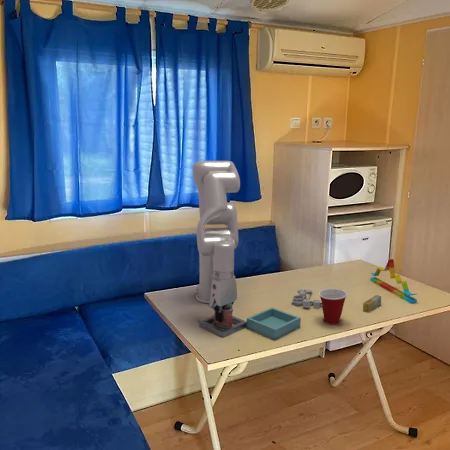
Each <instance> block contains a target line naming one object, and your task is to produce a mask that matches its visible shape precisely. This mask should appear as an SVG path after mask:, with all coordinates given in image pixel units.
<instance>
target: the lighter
mask: <svg viewBox="0 0 450 450" xmlns="http://www.w3.org/2000/svg"><path fill="white" fill-rule="evenodd" d="M218 308H219V306H218ZM233 311H234V309H233V307H232V308H230V303H229V304H226V305H224V306H222V310H221V312H222V313H223V318H222V322H219V321H216V320H215V312H216V311H214V310H213V316H214V323H213V325H214V326H216V327H218V328H220V329H227V328H229V327H231V326H233V323H232V316H233Z"/></svg>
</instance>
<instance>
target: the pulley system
mask: <svg viewBox="0 0 450 450" xmlns="http://www.w3.org/2000/svg"><path fill="white" fill-rule="evenodd" d="M297 293H298V295H294V296H292V300H291V305H293V306H294V307H303V308H305V309H306V308H311V307H313V309H320V308H322V302H321V301H320V300H319V299H314V300H311V296H312V294H313V291H312V290H311V289H302V288H299V289H297ZM307 295H309V296H308V298H307Z"/></svg>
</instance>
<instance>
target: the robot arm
mask: <svg viewBox="0 0 450 450" xmlns="http://www.w3.org/2000/svg"><path fill="white" fill-rule="evenodd" d="M192 179H193V181H194V184H195V187H196V190H197V192H198V208H199V209H198V210H199V220H198V223H197V226H196V244H197V251H198V252H199V253H198V254H199V258H198V259H199V284H197V285H196V287H194V290H195V291H197V294H196V295H195V296H196V297H195V299H196V301H198V302H200V303H202V304H209V305H208V307H209V308H210V309H211V310H213V312H214V311H216V312H215V320H216V321H219V322H222V318H223V313H222V312H221V310H222V306H224V305H226V304H229V303H230V308H232V309H233V305H234V303H235V301H237V299H238V287H237V285H238V284H237V279H236V276H235V250H236V249H237V247H238V246H239V227H238V225H239V224H238V212H237V207H236V206H235V204H234V203H233V202H230V201H229V202H228V201H227V193H228V194H230V193H238V192H239V191H240V189H241V179H240V175H239V172H238V169H237V168H236V165H235V163H234V162H233V161H230V160H202V161H201V160H200V161H197V162H195V163H194V164H193V165H192ZM206 225H207V226H218V225H221V226H222V225H225V226H226V227H209V228H206ZM218 306H219V308H218Z"/></svg>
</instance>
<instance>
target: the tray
mask: <svg viewBox="0 0 450 450" xmlns="http://www.w3.org/2000/svg"><path fill="white" fill-rule="evenodd" d="M246 322H247V327H246V329H248V330H251V331H252V332H255V333H256V334H257V333H258V334H260V335H263V336H264V337H267V338H269V339H272V340H275V341H277V340H279V339H280V338H283V337H284V336H287V335H288V334H290V333H292V332H295V331H296V330H299V329H300V328H301V317H299V316H297V315H295V314H291V313H289V312H286V311H283V310H280V309H278V308H275V307H270V308H268V309H265V310H262V311H260V312H258V313H256V314H253V315H251V316H249V317H247V318H246Z"/></svg>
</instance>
